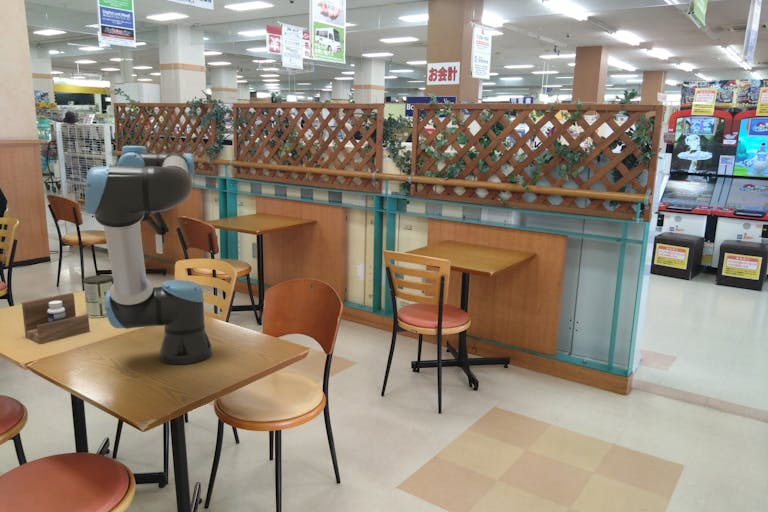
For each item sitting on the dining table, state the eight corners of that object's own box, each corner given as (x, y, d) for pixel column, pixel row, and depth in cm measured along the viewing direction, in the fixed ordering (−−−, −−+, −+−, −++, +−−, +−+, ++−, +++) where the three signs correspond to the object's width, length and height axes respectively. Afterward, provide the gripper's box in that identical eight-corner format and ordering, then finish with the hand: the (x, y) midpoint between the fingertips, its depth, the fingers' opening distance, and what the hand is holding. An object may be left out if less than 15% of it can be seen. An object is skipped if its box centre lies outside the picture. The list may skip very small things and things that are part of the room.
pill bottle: (46, 327, 193) (43, 302, 191) (63, 323, 196) (61, 299, 195) (52, 330, 189) (49, 305, 187) (69, 327, 193) (66, 302, 191)
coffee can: (96, 309, 222) (93, 274, 220) (121, 310, 221) (119, 275, 219) (80, 317, 212) (76, 280, 210) (106, 318, 211) (103, 281, 209)
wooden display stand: (89, 331, 197) (86, 297, 194) (40, 343, 184) (36, 308, 182) (74, 325, 203) (71, 292, 201) (25, 337, 190) (21, 302, 188)
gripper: (164, 190, 200) (167, 249, 204) (93, 194, 181) (99, 260, 185) (177, 191, 196) (180, 252, 200) (106, 196, 176) (111, 263, 180)
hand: (141, 256), depth 192 cm, fingers open, 13 cm apart
